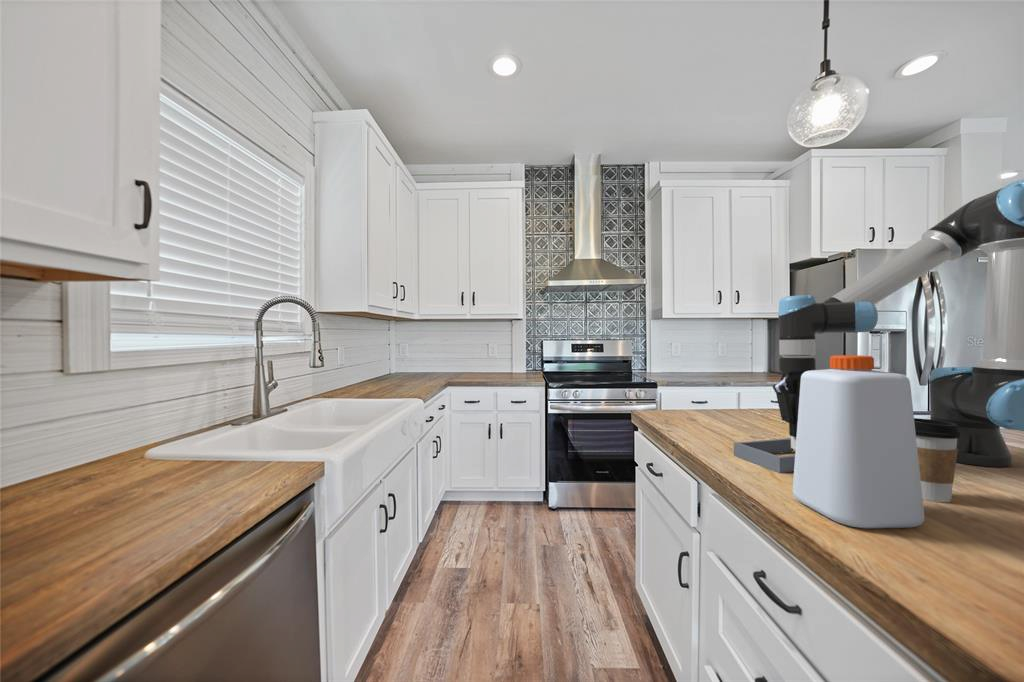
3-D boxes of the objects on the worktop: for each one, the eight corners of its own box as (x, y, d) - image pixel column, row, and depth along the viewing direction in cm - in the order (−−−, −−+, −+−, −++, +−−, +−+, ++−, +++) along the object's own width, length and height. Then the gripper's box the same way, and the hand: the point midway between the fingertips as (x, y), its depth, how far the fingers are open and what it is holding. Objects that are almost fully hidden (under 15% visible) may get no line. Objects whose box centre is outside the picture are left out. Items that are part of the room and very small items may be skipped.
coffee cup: (887, 487, 82) (886, 415, 82) (933, 489, 81) (932, 415, 81) (923, 504, 74) (922, 424, 73) (975, 506, 72) (974, 424, 72)
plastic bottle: (940, 530, 64) (938, 357, 64) (847, 532, 64) (846, 358, 63) (857, 493, 79) (855, 353, 79) (782, 495, 79) (780, 354, 79)
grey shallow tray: (790, 450, 109) (790, 438, 109) (842, 466, 95) (842, 452, 95) (733, 455, 105) (733, 442, 105) (779, 473, 91) (779, 457, 91)
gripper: (804, 355, 106) (805, 443, 106) (763, 356, 103) (764, 447, 103) (832, 356, 98) (833, 451, 99) (789, 357, 96) (790, 455, 96)
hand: (798, 449), depth 101 cm, fingers closed
